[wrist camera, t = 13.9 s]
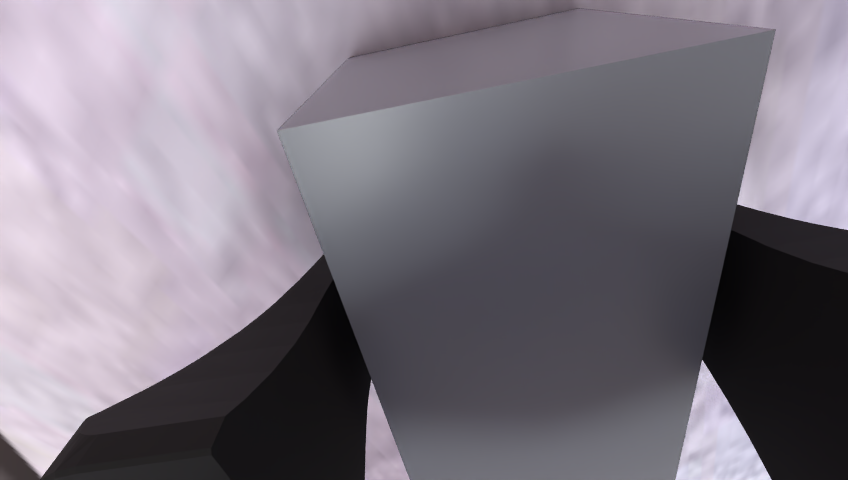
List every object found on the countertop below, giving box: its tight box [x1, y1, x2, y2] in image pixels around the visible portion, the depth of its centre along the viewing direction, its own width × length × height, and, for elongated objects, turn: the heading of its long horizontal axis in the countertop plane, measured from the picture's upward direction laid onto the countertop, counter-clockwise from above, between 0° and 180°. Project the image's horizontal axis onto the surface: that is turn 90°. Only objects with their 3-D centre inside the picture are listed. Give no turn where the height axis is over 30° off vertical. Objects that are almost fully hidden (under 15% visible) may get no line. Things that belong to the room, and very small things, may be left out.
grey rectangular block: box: [277, 8, 776, 480], centre depth 11 cm, size 11×6×7 cm, turn 11°
